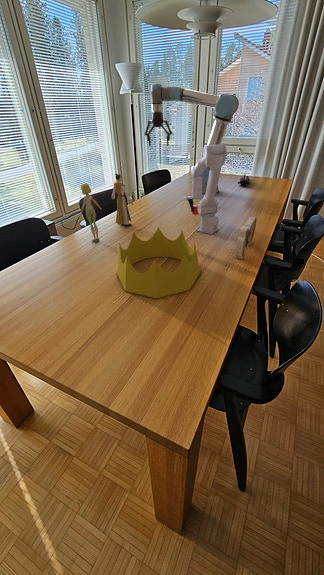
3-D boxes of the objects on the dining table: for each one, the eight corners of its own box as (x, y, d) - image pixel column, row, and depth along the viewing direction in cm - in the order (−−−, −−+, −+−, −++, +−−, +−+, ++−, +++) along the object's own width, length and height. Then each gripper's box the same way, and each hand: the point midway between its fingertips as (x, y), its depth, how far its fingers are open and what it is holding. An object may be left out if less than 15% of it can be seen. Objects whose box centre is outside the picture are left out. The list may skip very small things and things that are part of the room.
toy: (240, 179, 245) (237, 186, 221) (241, 173, 242) (238, 180, 219) (251, 179, 242) (249, 186, 218) (251, 174, 240) (249, 180, 216)
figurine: (140, 227, 158) (135, 173, 141) (129, 231, 153) (122, 176, 136) (119, 219, 169) (112, 169, 152) (109, 224, 164) (100, 172, 147)
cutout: (244, 233, 111) (258, 210, 128) (237, 232, 113) (252, 210, 129) (240, 263, 121) (254, 238, 137) (234, 262, 122) (248, 237, 138)
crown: (123, 254, 130) (119, 225, 122) (197, 252, 128) (198, 223, 120) (109, 299, 101) (102, 265, 92) (204, 297, 99) (206, 262, 90)
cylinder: (201, 214, 161) (201, 206, 158) (194, 215, 160) (194, 207, 157) (198, 211, 165) (198, 203, 162) (191, 212, 164) (191, 204, 161)
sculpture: (103, 236, 150) (93, 180, 132) (108, 238, 147) (98, 181, 130) (83, 243, 142) (70, 186, 125) (88, 246, 140) (75, 187, 122)
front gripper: (207, 185, 158) (205, 207, 166) (183, 187, 156) (183, 210, 164) (210, 188, 152) (209, 211, 160) (186, 190, 150) (186, 213, 158)
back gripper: (138, 112, 184) (141, 146, 196) (174, 111, 181) (174, 146, 193) (141, 112, 190) (143, 145, 202) (175, 110, 187) (175, 144, 199)
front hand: (196, 211), depth 162 cm, fingers closed on cylinder, 5 cm apart
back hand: (158, 145), depth 198 cm, fingers open, 13 cm apart
